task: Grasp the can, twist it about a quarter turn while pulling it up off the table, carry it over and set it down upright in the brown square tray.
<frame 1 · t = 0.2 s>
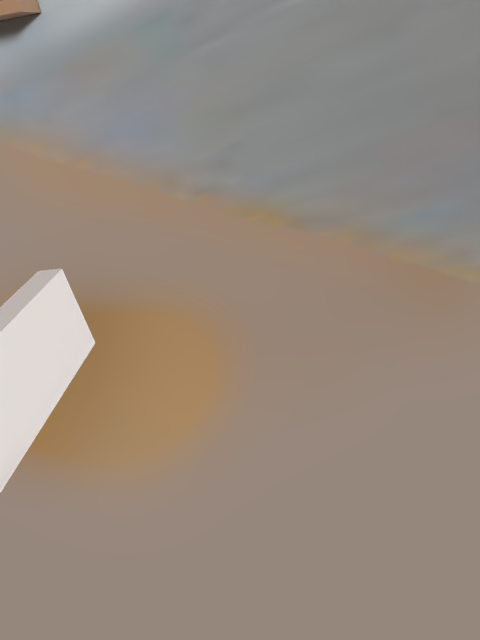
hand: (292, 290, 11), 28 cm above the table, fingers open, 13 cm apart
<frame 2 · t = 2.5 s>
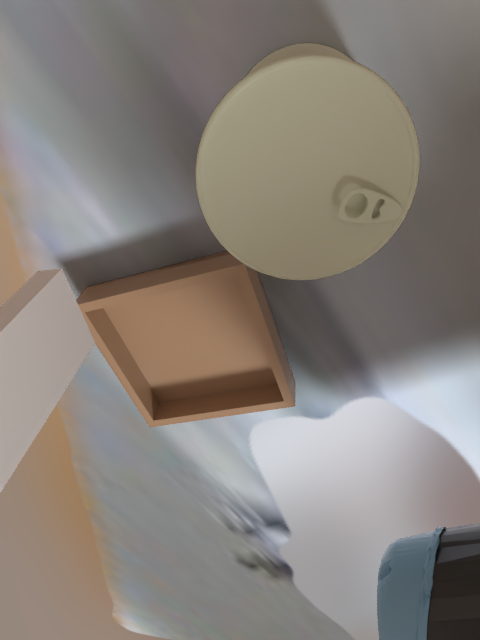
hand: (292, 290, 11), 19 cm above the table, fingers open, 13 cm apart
can: (300, 129, 27), on the table
brown square tray: (196, 337, 37), on the table
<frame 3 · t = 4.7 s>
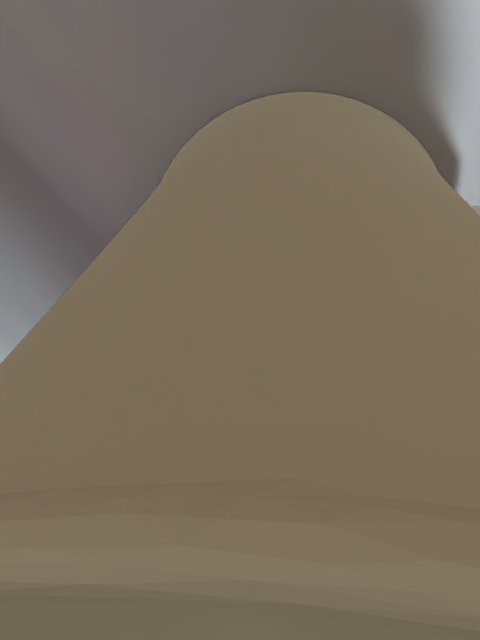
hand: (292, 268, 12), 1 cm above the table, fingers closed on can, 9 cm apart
can: (293, 251, 13), on the table, touching gripper
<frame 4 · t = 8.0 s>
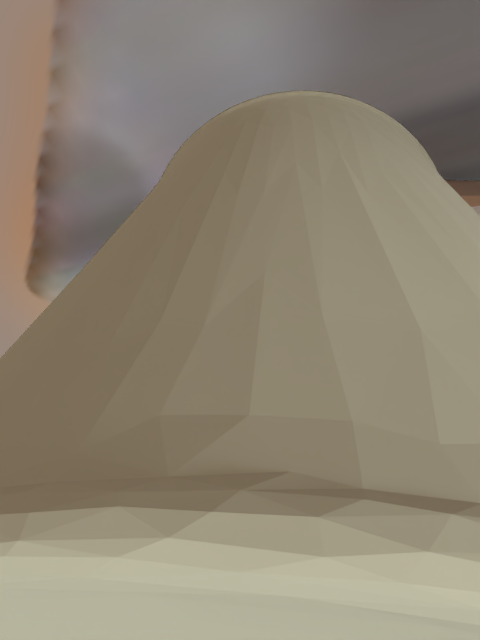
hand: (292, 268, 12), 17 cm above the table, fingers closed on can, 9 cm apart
can: (292, 250, 13), point 16 cm above the table, touching gripper
brown square tray: (425, 278, 31), on the table
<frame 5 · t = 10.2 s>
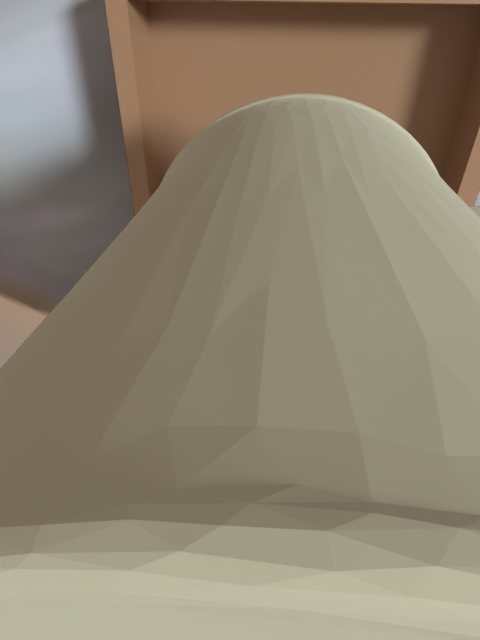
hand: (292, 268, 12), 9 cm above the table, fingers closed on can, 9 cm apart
can: (293, 252, 13), point 8 cm above the table, touching gripper
brown square tray: (296, 173, 20), on the table
when the fingers open (4 cm above the table, at t = 11.6 s): can drops 3 cm, resting on brown square tray.
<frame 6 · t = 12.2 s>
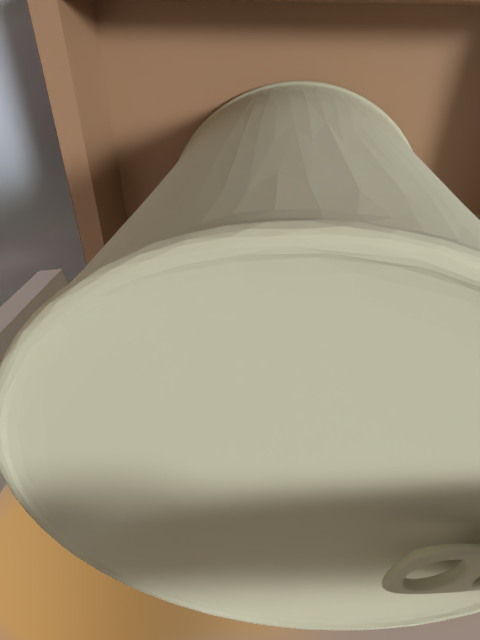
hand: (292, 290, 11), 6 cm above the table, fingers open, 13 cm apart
can: (291, 218, 16), resting on brown square tray
brown square tray: (293, 214, 16), on the table
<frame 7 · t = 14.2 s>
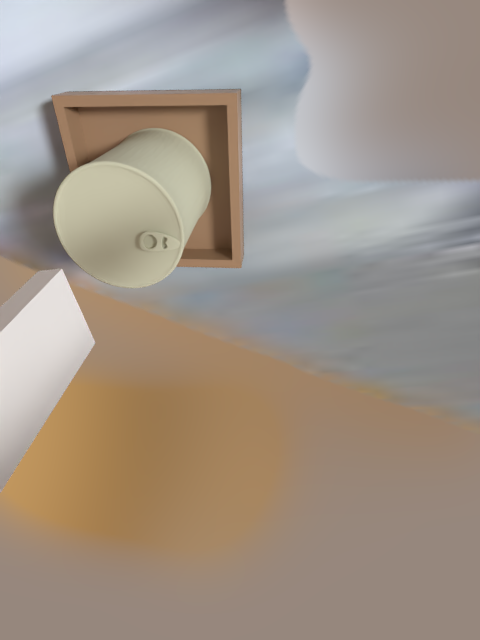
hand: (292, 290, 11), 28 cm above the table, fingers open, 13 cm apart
can: (162, 181, 38), resting on brown square tray
brown square tray: (163, 180, 38), on the table
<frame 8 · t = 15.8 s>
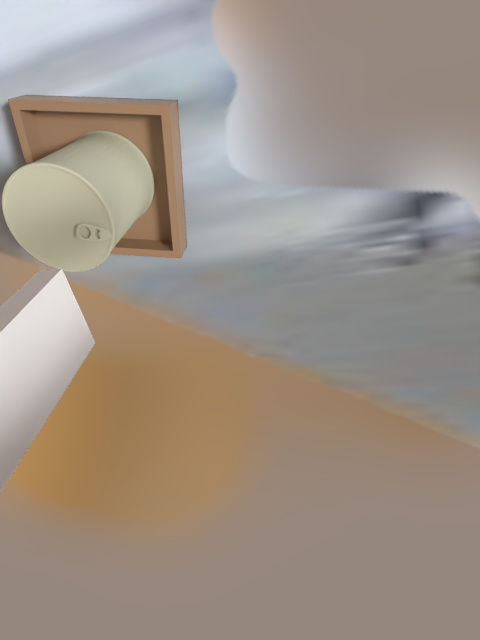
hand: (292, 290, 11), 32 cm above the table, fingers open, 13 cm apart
can: (111, 178, 42), resting on brown square tray
brown square tray: (113, 177, 43), on the table
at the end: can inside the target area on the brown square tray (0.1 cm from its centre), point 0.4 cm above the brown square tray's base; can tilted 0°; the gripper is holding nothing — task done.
